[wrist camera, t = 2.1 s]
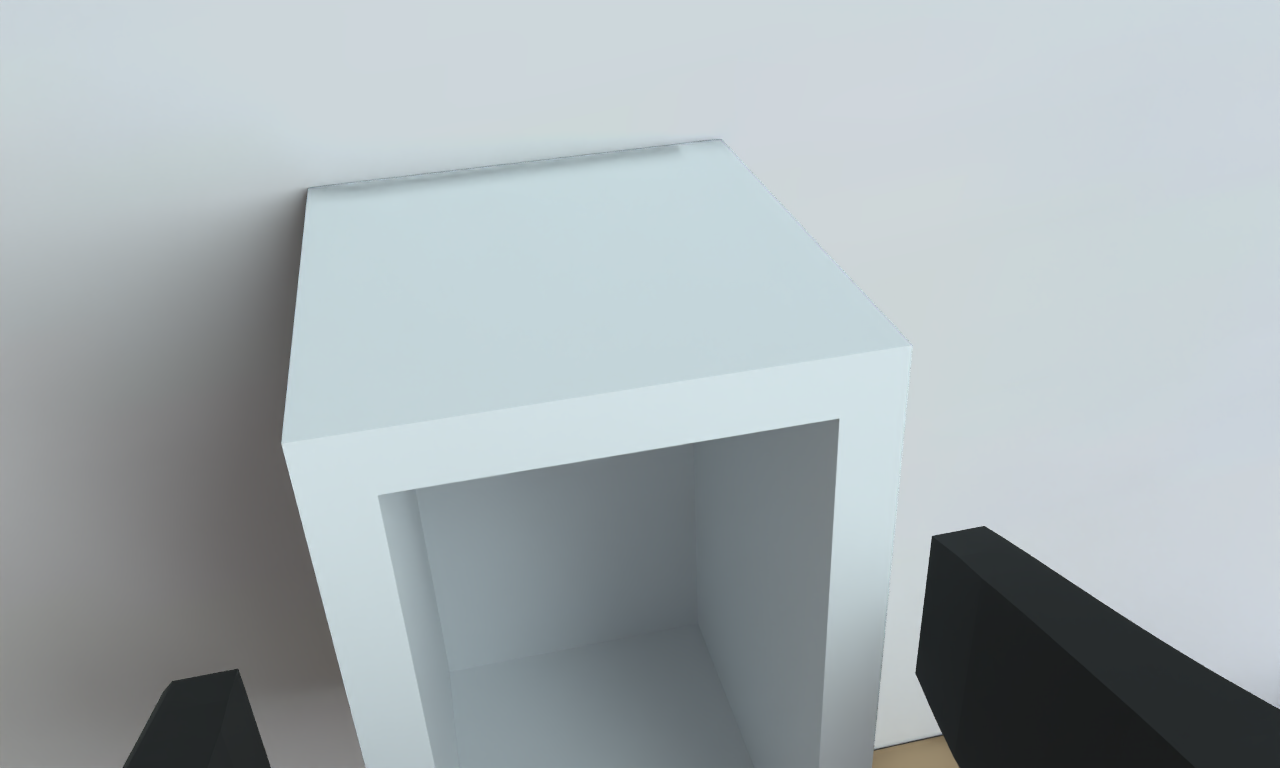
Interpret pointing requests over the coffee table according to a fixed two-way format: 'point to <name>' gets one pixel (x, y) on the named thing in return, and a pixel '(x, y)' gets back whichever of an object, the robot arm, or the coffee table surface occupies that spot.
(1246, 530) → the coffee table surface
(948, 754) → the walnut crate
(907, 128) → the coffee table surface
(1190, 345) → the coffee table surface
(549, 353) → the white crate
